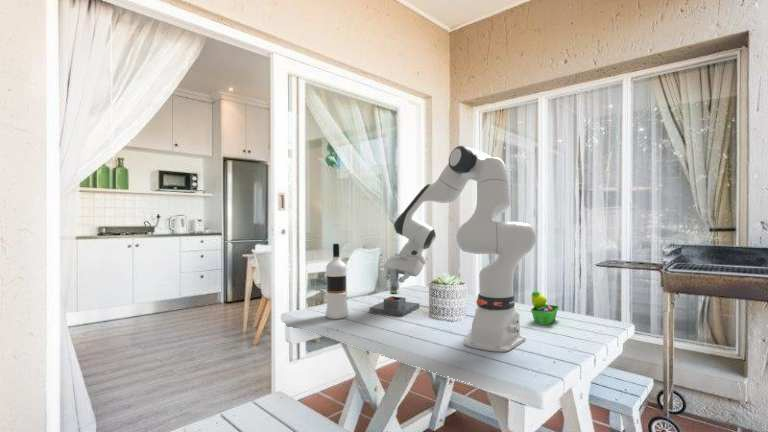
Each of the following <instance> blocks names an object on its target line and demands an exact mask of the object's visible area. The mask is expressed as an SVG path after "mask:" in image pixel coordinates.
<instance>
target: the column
mask: <svg viewBox="0 0 768 432" xmlns="http://www.w3.org/2000/svg"><path fill="white" fill-rule="evenodd" d="M389 280H390V281H389V282H390V283H389V286H390V289H389V293H390V295H398V294H400V287H399V283H400V281H399V274H398V269H390V279H389Z"/></svg>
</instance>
